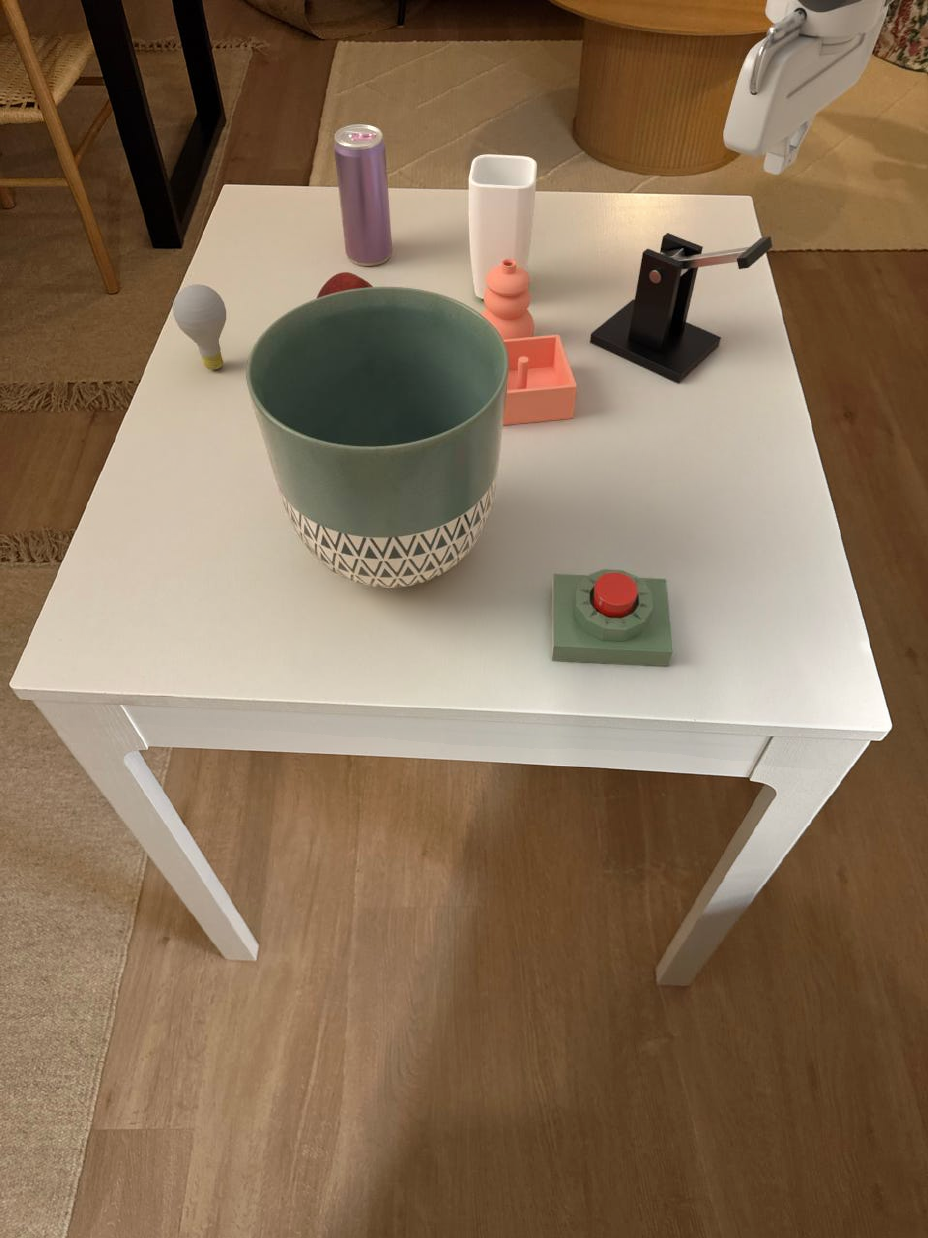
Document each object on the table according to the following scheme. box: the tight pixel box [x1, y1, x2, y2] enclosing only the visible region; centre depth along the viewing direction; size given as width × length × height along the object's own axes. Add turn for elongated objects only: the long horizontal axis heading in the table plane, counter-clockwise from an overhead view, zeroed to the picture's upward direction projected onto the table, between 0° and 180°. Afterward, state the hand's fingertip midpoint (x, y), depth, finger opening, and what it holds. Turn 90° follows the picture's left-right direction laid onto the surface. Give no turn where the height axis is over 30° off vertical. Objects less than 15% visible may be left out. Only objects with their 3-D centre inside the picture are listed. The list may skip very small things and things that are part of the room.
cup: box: [468, 153, 538, 301], centre depth 105 cm, size 7×7×15 cm
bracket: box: [589, 232, 722, 384], centre depth 100 cm, size 12×9×12 cm
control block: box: [551, 568, 674, 667], centre depth 78 cm, size 10×8×4 cm
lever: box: [659, 236, 773, 276], centre depth 93 cm, size 12×5×2 cm, turn 51°
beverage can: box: [333, 123, 393, 267], centre depth 110 cm, size 6×6×15 cm
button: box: [593, 572, 638, 617], centre depth 76 cm, size 4×4×2 cm
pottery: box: [480, 259, 578, 426], centre depth 97 cm, size 18×10×10 cm, turn 8°
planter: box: [245, 286, 509, 589], centre depth 76 cm, size 20×20×21 cm
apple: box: [315, 271, 374, 299], centre depth 102 cm, size 7×8×8 cm
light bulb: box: [172, 283, 227, 370], centre depth 98 cm, size 6×6×10 cm
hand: (778, 167), depth 82 cm, fingers closed
